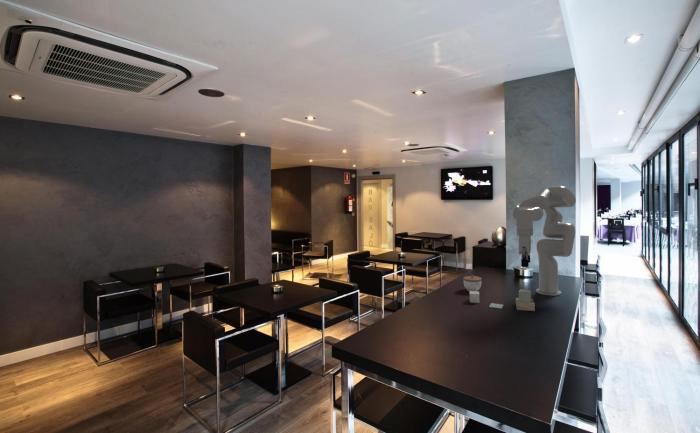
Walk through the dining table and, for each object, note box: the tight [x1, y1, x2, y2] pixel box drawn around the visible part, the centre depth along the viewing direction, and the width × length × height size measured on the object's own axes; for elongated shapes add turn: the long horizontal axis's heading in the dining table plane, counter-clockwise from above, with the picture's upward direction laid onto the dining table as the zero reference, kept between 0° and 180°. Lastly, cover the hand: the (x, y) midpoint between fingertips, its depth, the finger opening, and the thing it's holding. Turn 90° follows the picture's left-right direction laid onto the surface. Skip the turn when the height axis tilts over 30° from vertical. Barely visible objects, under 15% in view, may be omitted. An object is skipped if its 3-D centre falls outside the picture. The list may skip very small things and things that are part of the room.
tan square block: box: [515, 297, 536, 312], centre depth 171 cm, size 8×8×4 cm
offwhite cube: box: [469, 290, 480, 304], centre depth 185 cm, size 5×5×5 cm
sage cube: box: [518, 288, 532, 303], centre depth 171 cm, size 5×5×5 cm
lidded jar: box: [462, 275, 482, 292], centre depth 206 cm, size 11×11×9 cm
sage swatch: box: [488, 302, 504, 310], centre depth 176 cm, size 6×6×1 cm
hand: (526, 264), depth 174 cm, fingers open, 9 cm apart
